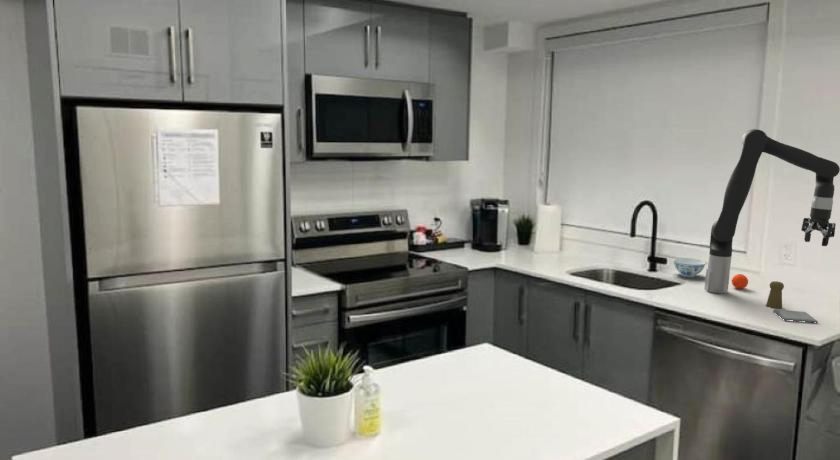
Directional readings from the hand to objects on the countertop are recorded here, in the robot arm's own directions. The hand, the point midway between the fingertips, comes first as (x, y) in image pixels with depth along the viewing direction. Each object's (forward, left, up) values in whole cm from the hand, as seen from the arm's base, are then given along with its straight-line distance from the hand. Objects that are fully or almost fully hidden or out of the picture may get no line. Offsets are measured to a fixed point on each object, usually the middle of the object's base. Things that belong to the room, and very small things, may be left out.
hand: (815, 243), depth 264 cm
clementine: (-24, +13, -26) cm, 38 cm away
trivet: (-15, -29, -26) cm, 41 cm away
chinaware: (-43, +32, -26) cm, 60 cm away
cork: (-18, -15, -26) cm, 35 cm away
